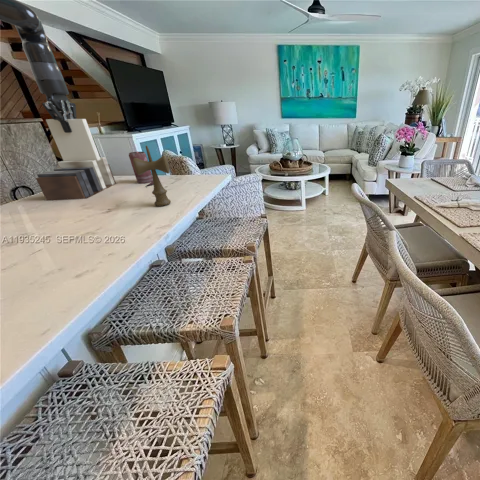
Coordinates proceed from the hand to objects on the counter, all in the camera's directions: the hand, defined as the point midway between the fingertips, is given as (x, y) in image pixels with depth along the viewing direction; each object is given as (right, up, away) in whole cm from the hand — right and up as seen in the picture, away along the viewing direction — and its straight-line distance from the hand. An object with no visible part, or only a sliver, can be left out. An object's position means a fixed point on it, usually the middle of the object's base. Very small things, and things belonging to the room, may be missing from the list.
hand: (71, 132), depth 100 cm
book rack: (+1, -23, +5) cm, 23 cm away
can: (+17, -17, +18) cm, 30 cm away
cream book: (0, -9, +5) cm, 11 cm away
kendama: (+38, -28, -6) cm, 48 cm away
